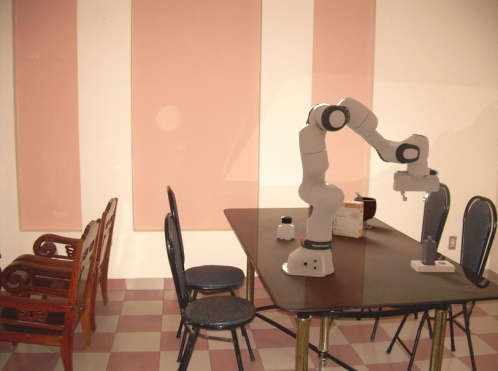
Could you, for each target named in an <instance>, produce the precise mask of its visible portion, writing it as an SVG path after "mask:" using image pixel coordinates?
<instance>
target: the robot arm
mask: <svg viewBox="0 0 498 371" xmlns="http://www.w3.org/2000/svg"><path fill="white" fill-rule="evenodd" d="M305 124H306V125H303V126H302V127H301V128H300V129H299V131H298V145H299V147H298V148H299V154H300V159H301V167H302V180H301V183H300V184H299V187H298V190H297V193H298V197H299V198H300V199H301V200H302V201H303V202H304V203H306V204H308V205H309V206H310V205H313V212H312V215H311V217H309V216H308V218H307V220H306V223H305V224H306V227H305V229H306V230H305V231H306V232H305V237H304V236H300V237H299V238H298V241H299V242H300V246H299V247H298V248H296V249H294V250H293V251H292V252H290V253H289V255H288V257H287V261H286V262H284V263H283V264H282V269H281V270H282V272H283V273H284V274H286V275H290V276H301V277H302V276H303V277H317V278H323V277H325V276H327V275H331V274H333V273H335V268H334V264H333V257H332V256H333V255H332V254H333V253H332V252H333V246H334V245H333V244H334V243H333V237H332V236H333V230H332V228H333V225H334V224H333V219H334V216H335V213H336V211H337V210H338V209H339V208H340V207H341V206H342V205H343V202H344V200H345V193H344V191H343V190H342V189H341V188H339V186H336V185H335V184H332V183H328V182H326V179H325V178H326V172H327V171H328V169H329V167H330V163H329V157H328V150H327V145H326V134H327V132H332V133H333V132H338V131H340V130H342V129H343V128H344V127H346V126H347V127H348V128H349V129H350V130H352V131H353V132H354V133H356V135H359V136H360V137H361V138H363V139H364V141H366V142H367V143H368V144H369V145H370V146H371V147H372V148H373V149H374V150H375V152H377V155H378V157H379V158H380V160H381V161H383V162H384V163H393V164H400V165H405V164H406V170H396V171H395V172H394V174H393V183H392V189H393V190H394V191H395V192H400V195H401V197H402V201H403V202H407V201H408V197H407V196H406V195H405V194H406V192H425V196H423V197H422V198H423V199H422V201H423V202H428V199H429V197H430V196H431V194H432V192H434V193H436V192H438V191H439V190H440V177H439V176H438V175H439V171H438V170H436V169H435V168H434V169H433V168H432V167H429V163H428V159H429V155H430V143H429V138H428V136H426V135H424V134H423V135H422V134H416V133H413V134H410V135H409V137H408V138H406V139H403V140H400V141H395V140H390V139H387V138H385V137H384V136H383V135H382V134H381V133H379V132H378V131H377V128H378V125H379V119H378V116H376V115H375V113H374V112H373V111H372V110H371V109H369V108H368V106H366V105H364V104H363V103H362V102H360V101H358V100H357V99H355V98H353V97H344V98H343V99H341V100H340V101H339V102H338V104H331V103H317V104H315V105H313V106H311V107H310V109H309V110H308V113H307V119H306V122H305ZM332 224H333V225H332Z"/></svg>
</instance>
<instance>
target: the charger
mask: <svg viewBox="0 0 498 371" xmlns="http://www.w3.org/2000/svg"><path fill="white" fill-rule="evenodd" d="M432 238H433V237H432V236H431V235H429V236H428V237H427V239H423V240H422V249H421V250H422V252H421V261H422V264H424V265H435V261H436V257H437V256H436V254H437V242H436V241H435V240H434V239H432Z"/></svg>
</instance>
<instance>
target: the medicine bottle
mask: <svg viewBox="0 0 498 371" xmlns="http://www.w3.org/2000/svg"><path fill="white" fill-rule="evenodd" d="M295 228H296V227H295V224H293V217H291V216H288V215H284V216H281V217H280V224H279V225H277V230H276V232H277V234H276V238H280V239H279V240H283V239H285V240H284V241H291V240H292V238H293V239H295V230H296V229H295Z"/></svg>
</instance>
